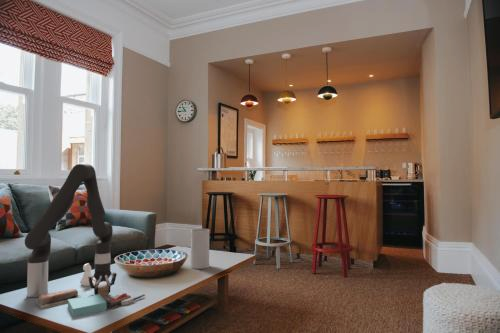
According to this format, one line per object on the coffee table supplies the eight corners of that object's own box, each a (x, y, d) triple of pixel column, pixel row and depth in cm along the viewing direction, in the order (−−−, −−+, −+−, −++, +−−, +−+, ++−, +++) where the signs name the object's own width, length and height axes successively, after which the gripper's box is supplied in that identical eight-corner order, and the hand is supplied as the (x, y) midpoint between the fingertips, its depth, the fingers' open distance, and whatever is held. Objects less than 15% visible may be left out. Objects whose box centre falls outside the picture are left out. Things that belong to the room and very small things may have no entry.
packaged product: (42, 299, 163) (35, 294, 170) (42, 309, 163) (35, 304, 170) (82, 290, 176) (74, 285, 183) (82, 299, 176) (74, 295, 183)
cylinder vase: (187, 266, 239) (187, 229, 240) (202, 263, 247) (203, 228, 248) (196, 270, 230) (197, 232, 230) (212, 267, 238) (213, 230, 238)
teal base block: (67, 308, 165) (67, 299, 165) (99, 301, 174) (99, 293, 174) (72, 318, 154) (72, 309, 154) (106, 311, 162) (106, 302, 162)
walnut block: (95, 295, 182) (96, 285, 182) (106, 293, 184) (106, 284, 185) (98, 298, 177) (98, 288, 178) (108, 296, 180) (108, 286, 181)
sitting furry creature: (95, 286, 196) (95, 264, 196) (78, 287, 193) (78, 266, 194) (97, 281, 205) (97, 260, 205) (81, 282, 202) (81, 261, 203)
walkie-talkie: (112, 311, 162) (146, 298, 179) (112, 301, 162) (146, 289, 179) (100, 307, 166) (134, 295, 184) (100, 297, 167) (134, 286, 184)
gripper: (115, 258, 189) (114, 290, 188) (86, 262, 180) (85, 295, 180) (119, 261, 183) (118, 294, 182) (89, 265, 174) (88, 299, 174)
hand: (102, 294), depth 181 cm, fingers closed on walnut block, 5 cm apart
